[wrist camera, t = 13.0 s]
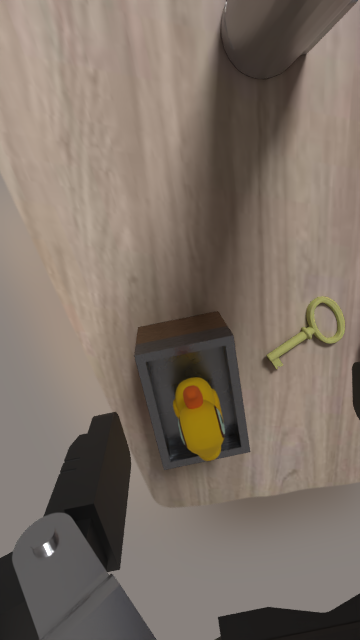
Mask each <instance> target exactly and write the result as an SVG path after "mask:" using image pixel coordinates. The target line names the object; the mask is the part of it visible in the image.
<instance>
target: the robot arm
mask: <svg viewBox="0 0 360 640" xmlns="http://www.w3.org/2000/svg"><path fill="white" fill-rule="evenodd" d="M357 1H358V0H226V3H225V7H224V10H223V14H222V21H221V35H222V40H223V45H224V48H225V50H226V53H227V55H228V57H229V59H230V60H231V62H232V63H233V65H234V66H235V67H236V68H237V69H238V70H239V71H241V72H243V73H244V74H246V75H247V76H250V77H254V78H262V79H265V78H270V77H274V76H276V75H278V74H280V73H282V72H283V71H284V70H286V69H287V68H288V67H289V66H290V65H291V64H292V63H293V62H294V61H295V60H296V59H297V58H298V57H299V56H301V55H305V54H307V53H308V52H309V51H310V50H311V49H312V48H313V47H314V46H315V45H316V44H317V43H318V42H319V41H320V40H321V39H322V38H323V37H324V36H325V35H326V34H327V33H328V32H329V31H330V30H331V29H332V27H333V26H334V25H335V24H336V23H337V22H338V21H339V20H340V19H341V18H342V17H343V16H344V15H345V14H346V13H347V12H348V11H349V10H350V9H351V8H352V7H353V6H354V5H355V4H356V2H357ZM352 387H353V406H354V410H355V412H356V414H357V416H358V418H359V420H360V362H356V363H354V364H353V367H352ZM64 461H65V463H63V466H62V468H61V471H60V474H59V477H58V479H57V482H56V484H55V487H54V490H53V492H52V495H51V498H50V500H49V503H48V506H47V508H46V512H45V514H44V516H43V518H40V519H39V520H37V521H36V522H34V523H33V524H32V525H31V526H30V527H28V528H27V530H25V532H24V533H23V534H22V535H21V537H20V538H19V540H18V541H17V543H16V545H15V548H14V550H13V552H11V553H9V554H7V555H5V556H3V557H1V558H0V640H156V638H155V637H154V635H153V634H152V632H151V631H150V629H149V628H148V626H147V624H146V623H145V622H144V620H143V618H142V617H141V615H140V614H139V612H138V611H137V609H136V608H135V606H134V605H133V603H132V602H131V600H130V599H129V597H128V596H127V594H126V593H125V591H124V590H123V588H122V587H121V585H120V584H119V582H118V581H117V579H115V577H114V576H113V575H112V574H110V575H109V574H108V573H107V572H110V571H115V570H119V569H120V563H121V554H122V545H123V536H124V526H125V517H126V508H127V499H128V489H129V479H130V470H131V457H130V451H129V447H128V444H127V441H126V438H125V435H124V431H123V428H122V425H121V422H120V419H119V416H118V414H117V413H116V412H112V413H108V414H103V415H98V416H94V417H93V418H92V421H91V425H90V428H89V431H88V433H87V434H82V435H79V436H78V438H77V439H76V440H75V441H74V442H73V444H72V445H71V446H70V447H69V450H68V452H67V455H66V458H65V460H64ZM218 620H219V627H220V634H221V636H220V637H219V638H217V639H215V640H360V594H358V595H356V596H355V597H353V598H351V599H350V600H348V601H347V602H345V603H343V604H341V605H340V606H338V607H336V608H335V609H333V610H331V611H329V612H326V613H319V612H309V611H300V610H291V609H281V608H272V607H266V608H261V609H256V610H251V611H246V612H241V613H236V614H231V615H226V616H221V617H218Z"/></svg>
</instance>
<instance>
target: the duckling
mask: <svg viewBox="0 0 360 640" xmlns="http://www.w3.org/2000/svg"><path fill="white" fill-rule="evenodd" d="M173 408H174V412H175V414H176V416H177V417H178V426H179V432H180V436H181V439H182V441H183V443H184V444H185V446H186V447H187V448H188V449H189V450H190V451H191V452H193V453H195V454H197V455H199V457H200V458H202V459H203V460H205V461H211V460H214V459H216V458H217V457H218V456H219V454H220V452H221V445H222V443H223V440H224V436H225V428H224V422H223V417H222V412H221V407H220V402H219V398H218V395H217V393H216V391H215V390H214V389H212V388H211V387H210V385H209V384H208V383H207V381H205V380H204V379H202V378H199V377H193V378H189V379H186V380H184V381H182V382H181V383H180V384H179V385H178V387H177V389H176V394H175V399H174V401H173Z"/></svg>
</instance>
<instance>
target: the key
mask: <svg viewBox="0 0 360 640" xmlns="http://www.w3.org/2000/svg"><path fill="white" fill-rule="evenodd" d="M320 303H325V304H326V305H328V306H329V307H330V308H331V309H332V311H333V312H334V314H335V316H336V319H337V325H338V326H337V332H336V334H335V335H334V336H333V337H330V338H326V337H324V336H323V335H322V334H321V333H320V331H319V330H318V328H317V326H316V323H315V319H314V310H315V308H316V306H317V305H318V304H320ZM306 317H307V322H308V325H309V327H307V328H305V327H302V328H301V332H300V333H299V334H297V335H296V336H294V337H293V338H291V339H290V340H288V341H287V342H285V343H284V344H282V345H281V346H279V347H278V348H276V349H275V350H273V351H272V352H270V353H269V354H267V355H266V356H267V358H268V359H269V360H270V361H271V362H272V364H273V365H274V367H275V368H276V369H278V367H277V366H280V367H281V366H283V364H282V362H281V361H280V359H279V357H280V356H281V355H283V354H284V353H286V352H287V351H289V350H290V349H292V348H293V347H295V346H296V345H298V344H299V343H301V342H302V341H304V340H305V339H311V338H312V335H313V334H314V335H315V336H316V337H317V338H318V339H319V340H321V341H323V342H325V343H330V344H331V343H336V342H337V341H339V340H340V339H341V338H342V336H343V334H344V331H345V320H344V317H343V314H342V311H341V310H340V308H339V306H338V305H337V303H336V302H335V301H333V300H332V299H330V298H328V297H317V298H316V299H314V300H313V301H311V303H310V304H309V305H308V307H307V312H306Z"/></svg>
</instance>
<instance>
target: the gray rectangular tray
mask: <svg viewBox="0 0 360 640" xmlns="http://www.w3.org/2000/svg"><path fill="white" fill-rule="evenodd" d="M134 356H135V360H136V364H137V368H138V372H139V375H140V379H141V383H142V387H143V391H144V395H145V399H146V402H147V406H148V410H149V414H150V418H151V422H152V425H153V429H154V433H155V437H156V441H157V445H158V449H159V452H160V456H161V460H162V464H163V468H164V470H167V469H171V468H176V467H181V466H186V465H190V464H195V463H200V462H205V460H203V459H202V458H200V457H199V455H197V454H195V453H193V452H191V451H190V450H189V449H188V448H187V447H186V446H185V444H184V443H183V441H182V439H181V436H180V432H179V426H178V417H177V416H176V414H175V412H174V408H173V401H174V399H175V394H176V389H177V387H178V385H179V384H180V383H181V382H182V381H184V380H186V379H189V378H193V377H199V378H202V379H204V380H205V381H207V383H208V384H209V385H210V387H211V388H212V389H214V390H215V391H216V393H217V395H218V398H219V402H220V407H221V412H222V417H223V422H224V428H225V436H224V440H223V443H222V445H221V452H220V454H219V456H218V457H217V458H216V459H219V458H224V457H228V456H233V455H238V454H243V453H247V452H250V447H249V440H248V433H247V426H246V419H245V412H244V406H243V399H242V392H241V385H240V378H239V371H238V364H237V357H236V350H235V343H234V337H233V334H232V333H231V331H230V329H229V328H228V326H227V325H226V323H225V322H224V320H223V319H222V317H221V315H220V314H219V312H218V311H216V312H211V313H206V314H201V315H196V316H191V317H187V318H182V319H177V320H172V321H167V322H162V323H157V324H152V325H147V326H143V327H138V332H137V340H136V347H135V355H134Z"/></svg>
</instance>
